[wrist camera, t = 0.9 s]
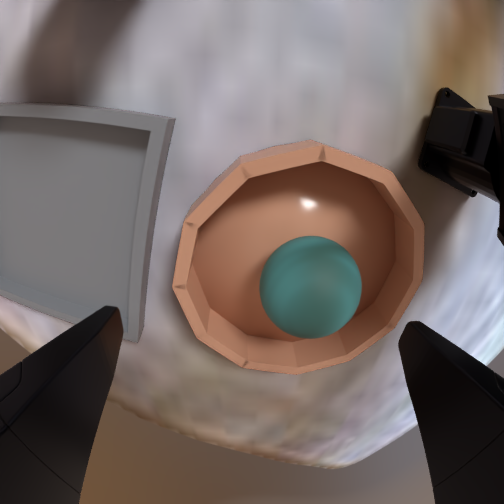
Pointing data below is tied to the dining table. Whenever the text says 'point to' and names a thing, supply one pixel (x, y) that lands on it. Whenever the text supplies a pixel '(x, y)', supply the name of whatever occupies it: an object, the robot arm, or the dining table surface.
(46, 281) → the tray
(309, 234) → the bowl
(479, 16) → the dining table surface
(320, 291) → the ball
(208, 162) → the dining table surface
